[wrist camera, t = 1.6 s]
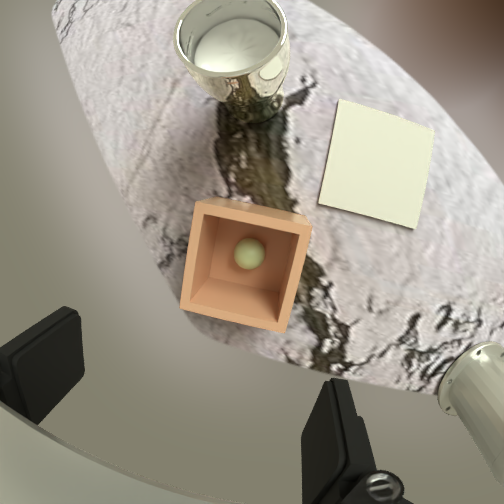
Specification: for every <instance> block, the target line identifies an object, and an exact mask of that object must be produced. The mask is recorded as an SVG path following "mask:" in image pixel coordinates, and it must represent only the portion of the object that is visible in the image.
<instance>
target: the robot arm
mask: <svg viewBox="0 0 504 504" xmlns="http://www.w3.org/2000/svg"><path fill="white" fill-rule="evenodd" d="M84 372H85V368H84V358H83V346H82V331H81V317H80V316H79V315H78V312H77V311H76V310H74V309H71V308H69V307H66V306H63V307H61V308H60V309H58V310H56V311H55V312H53V313H52V314H50V315H49V316H47V317H46V318H44V319H42V320H41V321H40V322H38V323H36V324H35V325H33V326H32V327H30V328H29V329H27V330H26V331H24V332H23V333H21V334H20V335H18V336H17V337H15V338H14V339H12V340H11V341H9V342H8V343H6V344H5V345H3V346H2V347H0V504H245V503H240V502H235V501H229V500H225V499H220V498H215V497H211V496H207V495H203V494H199V493H195V492H191V491H188V490H184V489H181V488H177V487H174V486H170V485H168V484H164V483H161V482H158V481H155V480H152V479H149V478H147V477H144V476H141V475H138V474H136V473H133V472H131V471H128V470H125V469H123V468H120V467H118V466H116V465H113V464H111V463H109V462H106V461H104V460H102V459H100V458H97V457H95V456H93V455H91V454H89V453H87V452H85V451H83V450H80V449H79V448H77V447H75V446H73V445H71V444H69V443H67V442H66V441H64V440H62V439H60V438H58V437H56V436H54V435H53V434H51V433H49V432H48V431H46V430H44V429H43V428H41V427H39V426H38V424H39V423H40V422H41V421H42V420H43V419H44V418H45V417H46V416H47V415H48V414H49V413H50V411H51V410H52V409H53V408H54V407H55V406H56V405H57V404H58V403H59V402H60V401H61V400H62V399H63V398H64V396H65V395H66V394H67V393H68V392H69V391H70V390H71V389H72V388H73V387H74V386H75V385H76V384H77V383H78V382H79V381H80V380H81V378H82V377H83V375H84ZM438 402H439V405H440V407H441V409H442V410H443V411H444V412H445V413H446V414H448V415H453V416H456V415H458V416H459V417H460V419H461V420H462V422H463V424H464V426H465V427H466V429H467V431H468V432H469V434H470V436H471V437H472V439H473V441H474V442H475V444H476V446H477V447H478V449H479V451H480V453H481V455H482V456H483V458H484V460H485V462H486V464H487V465H488V467H489V469H490V471H491V472H492V474H493V476H494V478H495V480H496V481H497V482H498V483H499V484H500V485H502V486H503V487H504V348H503V347H502V346H501V345H500V344H499V343H496V342H492V341H488V342H483V343H480V344H477V345H475V346H474V347H472V348H470V349H469V350H467V351H466V352H465V353H463V354H462V355H461V356H460V357H459V358H458V359H457V360H456V361H455V362H454V363H453V364H452V365H451V367H450V368H449V370H448V371H447V372H446V374H445V376H444V378H443V379H442V382H441V384H440V386H439V390H438ZM301 455H302V504H413V503H411V502H410V501H408V500H406V499H404V498H403V495H404V485H403V483H402V481H401V480H400V478H399V477H398V476H396V475H395V474H393V473H391V472H389V471H385V470H377V469H376V465H375V461H374V457H373V453H372V449H371V446H370V442H369V439H368V435H367V431H366V427H365V424H364V420H363V418H362V417H361V416H357V413H356V409H355V405H354V402H353V398H352V394H351V391H350V387H349V384H348V381H347V380H344V379H337V378H331V379H330V381H325V382H324V384H323V386H322V389H321V391H320V394H319V396H318V398H317V401H316V403H315V405H314V407H313V410H312V412H311V414H310V416H309V419H308V421H307V423H306V425H305V428H304V430H303V432H302V436H301Z"/></svg>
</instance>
